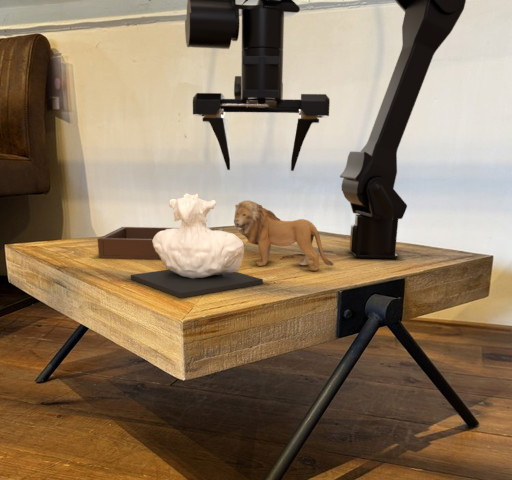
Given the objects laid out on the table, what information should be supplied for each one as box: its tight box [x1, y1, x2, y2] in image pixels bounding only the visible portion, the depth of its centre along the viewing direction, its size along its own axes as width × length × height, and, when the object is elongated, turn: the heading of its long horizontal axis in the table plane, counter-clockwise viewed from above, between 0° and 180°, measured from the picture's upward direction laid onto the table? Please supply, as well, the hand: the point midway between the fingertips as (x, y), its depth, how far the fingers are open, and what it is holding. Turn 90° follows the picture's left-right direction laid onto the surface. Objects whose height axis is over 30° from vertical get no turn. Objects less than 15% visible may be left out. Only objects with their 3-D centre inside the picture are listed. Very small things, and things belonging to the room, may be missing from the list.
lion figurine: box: [233, 200, 334, 271], centre depth 81 cm, size 15×5×9 cm, turn 74°
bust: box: [152, 192, 245, 279], centre depth 70 cm, size 12×8×11 cm
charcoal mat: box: [130, 269, 264, 299], centre depth 72 cm, size 12×12×1 cm
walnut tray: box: [97, 226, 225, 260], centre depth 92 cm, size 18×14×3 cm
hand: (260, 170), depth 83 cm, fingers open, 9 cm apart
